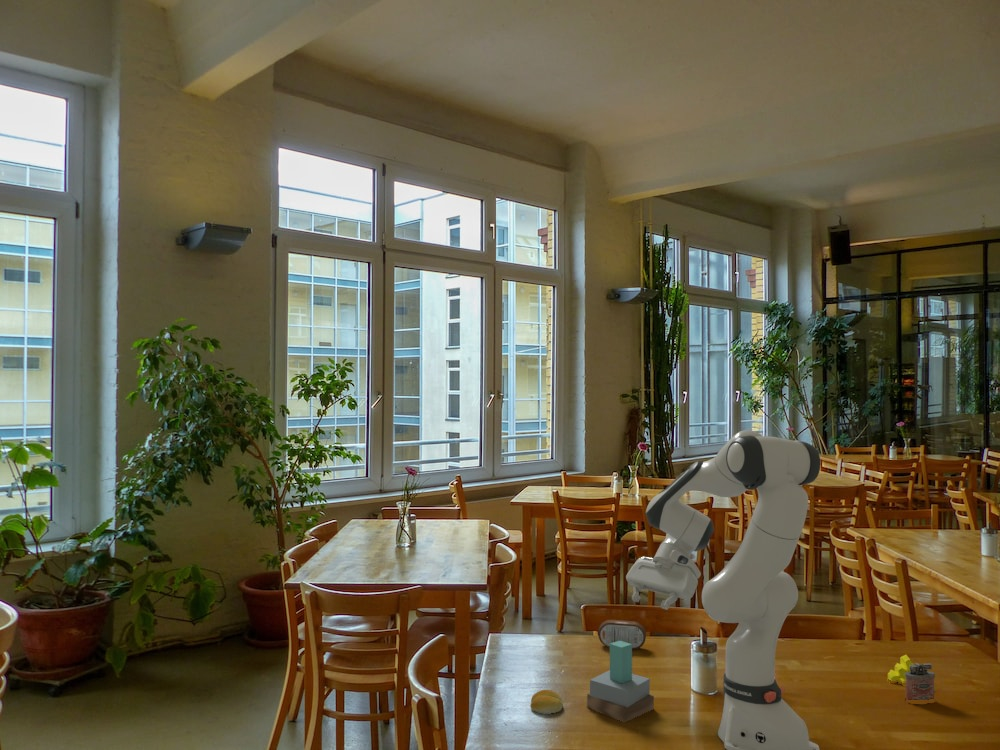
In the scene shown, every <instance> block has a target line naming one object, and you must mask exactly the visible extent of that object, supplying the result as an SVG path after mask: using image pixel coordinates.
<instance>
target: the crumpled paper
mask: <svg viewBox="0 0 1000 750" xmlns="http://www.w3.org/2000/svg"><path fill="white" fill-rule="evenodd" d="M899 659H900V660H899V661H900V662H899V663H898V662H896V664H895V665H894V670H893V669H889V672H888V673H887V680H888V679H889V680H891V681H896V680H898V681H900V682H902V683H906V677H905V673H906V672H910V665H914V664H915V663H914V662H912V661H911V659H910V658H909V656H908V655H907V654H904V655H902V656H900V658H899Z"/></svg>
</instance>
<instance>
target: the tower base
mask: <svg viewBox="0 0 1000 750" xmlns="http://www.w3.org/2000/svg"><path fill="white" fill-rule="evenodd" d="M586 695H587V696H586V699H587V701H586V703H587V705H586V708H587V707H588V708H587V709H589V710H593V711H594V710H595V712H596V713H599V712H600V714H602V715H605V716H607V717H609V718H611V717H612V719H615V720H616V719H617V721H619V720H620V721H619V722H621V721H622V722H621V723H623V722H625V723H626V721H627V722H629V721H631V720H634V719H636V718H638V717H641V716H643V715H645V714H647V713H649V712H651V710H652V711H654V710H653V709H655V708H654V705H655V704H654V703H655V702H654V701H655V699H654V698H655V695H652V694H650V693H649V695H647V696H646V697H644V698H642V699H641V700H639V701H637V702H636V703H634V704H632V705H631V706H629V707H624V706H621V705H618V704H615V703H612V702H609V701H605V700H602V699H599V698H596V697H593V696H590V692H589V693H587V694H586ZM648 711H649V712H648ZM646 712H647V713H646ZM644 713H645V714H644ZM642 714H643V715H642ZM637 716H638V717H637ZM635 717H636V718H635ZM633 718H634V719H633ZM628 720H629V721H628Z"/></svg>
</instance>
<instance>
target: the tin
mask: <svg viewBox="0 0 1000 750" xmlns="http://www.w3.org/2000/svg"><path fill="white" fill-rule="evenodd" d="M597 630H598V635H597V636H598V639H599V641H600V643H601V644H602V645H603V646H605V647H607V648H610V643H614V642H617V641H623V642H626V643H629V644H632V650H638V649H640V648H641V647H642V646H644V644H645V642H646V638H647V632H646V629H645V627H644V626H643V625H642V624H641V623H639V622H638V621H633V620H619V619H605V620H604V621H603V622H601V624H600V625H599V626H598V629H597Z"/></svg>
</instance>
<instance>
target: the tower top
mask: <svg viewBox="0 0 1000 750" xmlns="http://www.w3.org/2000/svg"><path fill="white" fill-rule="evenodd" d="M650 681H651V680H650V678H648V677H646V676H642V675H638V674H634V673H632V680H630V681H627V682H624V683H619V682H616V681H614V680H611V679H610V669H609V670H607V671H604V672H603V673H601V674H599V675H597V676H595V677H593V678H592V679H590V680H589V693H590V696H593V697H596V698H599V699H602V700H605V701H609V702H612V703H615V704H618V705H621V706H624V707H629V706H631V705H632V704H634V703H636V702H637V701H639V700H641V699H642V698H644V697H646V696H647V695H649V694H650V689H651V688H650V687H651V686H650V684H651V683H650Z"/></svg>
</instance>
